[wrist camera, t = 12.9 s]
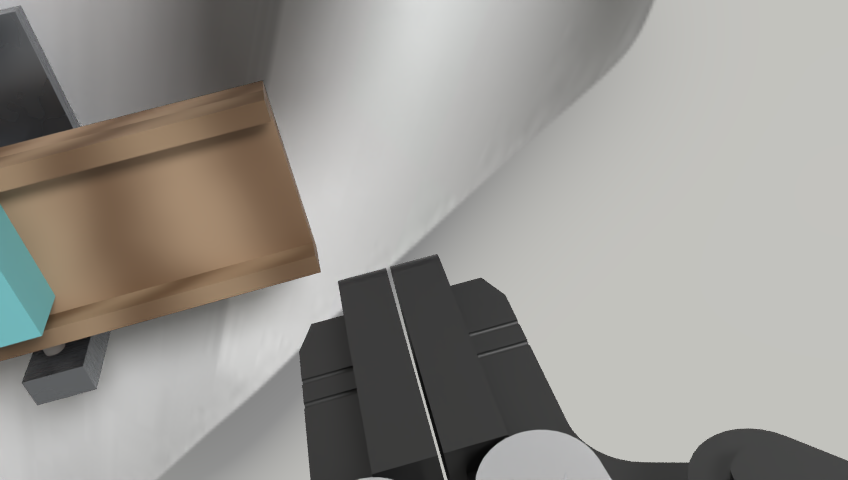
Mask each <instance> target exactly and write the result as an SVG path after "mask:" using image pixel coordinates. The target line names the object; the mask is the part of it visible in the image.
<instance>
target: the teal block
mask: <svg viewBox="0 0 848 480" xmlns="http://www.w3.org/2000/svg"><path fill="white" fill-rule="evenodd" d="M54 299H55V294H54V293H53V291H52V289H51V288H50V286H49V284H48V283H47V281H46V279H45V278H44V276H43V274H42V273H41V271H40V269H39V268H38V266H37V264H36V263H35V261H34V259H33V258H32V256H31V254H30V253H29V251H28V249H27V248H26V246H25V244H24V243H23V241H22V239H21V238H20V236H19V234H18V233H17V231H16V229H15V228H14V226H13V224H12V223H11V221H10V219H9V218H8V216H7V214H6V213H5V211H4V209H3V208H2V206H1V204H0V347H4V346H8V345H11V344H15V343H18V342H22V341H26V340H29V339H33V338H36V337H40V336H42V335H43V332H44V329H45V326H46V323H47V320H48V317H49V314H50V311H51V308H52V305H53V302H54Z"/></svg>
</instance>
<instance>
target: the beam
mask: <svg viewBox="0 0 848 480" xmlns="http://www.w3.org/2000/svg"><path fill="white" fill-rule="evenodd" d="M0 204H1V206H2V208H3V209H4V211H5V213H6V214H7V216H8V218H9V219H10V221H11V223H12V224H13V226H14V228H15V229H16V231H17V233H18V234H19V236H20V238H21V239H22V241H23V243H24V244H25V246H26V248H27V249H28V251H29V253H30V254H31V256H32V258H33V259H34V261H35V263H36V264H37V266H38V268H39V269H40V271H41V273H42V274H43V276H44V278H45V279H46V281H47V283H48V284H49V286H50V288H51V289H52V291H53V293H54V294H55V299H54V302H53V305H52V308H51V311H50V314H49V317H48V320H47V323H46V326H45V329H44V332H43V335H42V336H40V337H36V338H33V339H29V340H26V341H22V342H18V343H15V344H11V345H8V346H4V347H0V361H3V360H7V359H10V358H14V357H17V356H21V355H25V354H28V353H32V352H35V351H39V350H43V351H44V353H45V354H46V355H47V356H52V355H55V354H58V353H59V352H61V351H62V350H63V349H64V347H65V343H68V342H71V341H75V340H79V339H82V338H86V337H89V336H93V335H97V334H100V333H104V332H107V331H111V330H115V329H118V328H122V327H125V326H129V325H133V324H136V323H140V322H143V321H147V320H150V319H154V318H158V317H161V316H165V315H168V314H172V313H176V312H179V311H183V310H186V309H190V308H194V307H197V306H201V305H204V304H208V303H212V302H215V301H219V300H222V299H226V298H230V297H233V296H237V295H240V294H244V293H248V292H251V291H255V290H258V289H262V288H266V287H269V286H273V285H276V284H280V283H284V282H287V281H291V280H294V279H298V278H302V277H305V276H309V275H312V274H316V273H319V272H321V271H320V265H319V259H318V254H317V248H316V244H315V241H314V238H313V235H312V232H311V229H310V225H309V222H308V219H307V216H306V213H305V210H304V207H303V204H302V201H301V198H300V195H299V192H298V188H297V185H296V182H295V179H294V176H293V173H292V170H291V167H290V164H289V161H288V158H287V154H286V151H285V148H284V145H283V142H282V139H281V136H280V133H279V130H278V127H277V124H276V121H275V117H274V114H273V111H272V108H271V105H270V102H269V99H268V96H267V93H266V90H265V87H264V83H263V80H262V81H258V82H254V83H250V84H246V85H243V86H239V87H235V88H231V89H227V90H223V91H219V92H215V93H211V94H207V95H203V96H200V97H196V98H192V99H188V100H184V101H180V102H176V103H172V104H168V105H164V106H160V107H156V108H153V109H149V110H145V111H141V112H137V113H133V114H129V115H125V116H121V117H117V118H113V119H110V120H106V121H102V122H98V123H94V124H90V125H86V126H82V127H78V128H74V129H70V130H66V131H63V132H59V133H55V134H51V135H47V136H43V137H39V138H35V139H31V140H27V141H23V142H19V143H16V144H12V145H8V146H4V147H0Z"/></svg>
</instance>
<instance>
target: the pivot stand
mask: <svg viewBox="0 0 848 480" xmlns="http://www.w3.org/2000/svg"><path fill="white" fill-rule="evenodd" d="M78 127H80V126H79V124H78V121H77V119H76V117H75V115H74V113H73V111H72V109H71V107H70V105H69V103H68V101H67V99H66V97H65V95H64V93H63V91H62V89H61V87H60V85H59V83H58V81H57V79H56V77H55V75H54V73H53V71H52V69H51V66H50V64H49V62H48V60H47V58H46V56H45V54H44V52H43V50H42V48H41V46H40V44H39V42H38V40H37V38H36V36H35V34H34V32H33V30H32V28H31V26H30V24H29V22H28V20H27V18H26V16H25V14H24V11H23V9H22V7H21V6H17V7H12V8H8V9H4V10H0V147H4V146H8V145H12V144H16V143H19V142H23V141H27V140H31V139H35V138H39V137H43V136H47V135H51V134H55V133H59V132H63V131H66V130H70V129H74V128H78ZM109 336H110V331H107V332H104V333H100V334H97V335H93V336H89V337H86V338H82V339H79V340H75V341H71V342H68V343H65V347H64V349H63V350H62V351H61V352H59V353H58V354H55V355H52V356H47V355H46V354H45V353H44V351H43V350H39V351H35V352H33V354H32V357H31V359H30V362H29V365H28V367H27V370H26V373H25V376H24V378H23V381H22V384H23V385H24V387H25V388H26V390H27V391H28V392H29V394H30V395H31V397H32V398H33V400H34V401H35V403H36V404H37V405H40V404H43V403H47V402H51V401H54V400H58V399H62V398H65V397H69V396H73V395H76V394H80V393H84V392H87V391H91V390H95V389H97V385H98V381H99V377H100V373H101V369H102V364H103V360H104V356H105V352H106V348H107V344H108V340H109Z"/></svg>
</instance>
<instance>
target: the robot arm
mask: <svg viewBox="0 0 848 480" xmlns="http://www.w3.org/2000/svg"><path fill="white" fill-rule="evenodd" d="M390 269H391V273H392V277H393V281H394V284H395V289H396V293H397V296H398V300H399V304H400V308H401V312H402V315H403V319H404V323H405V327H406V331H407V335H408V339H409V342H410V346H411V350H412V354H413V358H414V361H415V365H416V369H417V372H418V376H419V380H420V383H421V387H422V390H423V394H424V398H425V400H426V405H427V408H428V412H429V415H430V419H431V422H432V426H433V430H434V433H435V437H436V440H437V444H438V447H439V451H440V454H441V458H442V462H443V465H444V469H445V472H446V476H447V479H448V480H848V461H847V460H844V459H842V458H839V457H837V456H834V455H832V454H829V453H827V452H824V451H822V450H819V449H817V448H814V447H811V446H809V445H807V444H804V443H802V442H799V441H796V440H794V439H792V438H789V437H787V436H784V435H780V434H778V433H775V432H771V431H766V430H760V429H735V430H730V431H725V432H722V433H720V434H717V435H714V436H713V437H711V438H709V439H707V440H706V441H705V442H703V443H702V444H701V445H700V446H699V447H698V448H697V449H696V451H695V452H694V453H693V456H692V458H691V460H690V462H689V463H651V462H649V463H648V462H631V461H625V460H620V459H616V458H613V457H610V456H607V455H605V454H602V453H600V452H598V451H596V450H595V449H593V448H592V447H590V446H588V445H587V444H585V443H584V442H583V441H582V440H581V439H580V438H579V437H578V436H577V435H576V434H575V433H574V432H573V431H572V429H571V427H570V426H569V424H568V422H567V421H566V418H565V417H564V414H563V412H562V410H561V408H560V406H559V404H558V402H557V400H556V398H555V396H554V394H553V392H552V390H551V388H550V386H549V384H548V382H547V380H546V378H545V376H544V373H543V371H542V369H541V368H540V365H539V363H538V361H537V359H536V357H535V355H534V353H533V351H532V349H531V347H530V345H528V342H527V339H526V337H525V335H524V333H523V331H522V328H521V326H520V325H519V324H518V321H517V318H516V316H515V314H514V312H513V310H512V308H511V306H510V304H509V302H508V300H507V298H506V296H505V295H504V294H503V293H502V292H500V291H499V290H497V289H496V288H495V287H493V286H492V285H491V284H489V283H488V282H486V281H485V280H484V279H482V278H478V279H474V280H471V281H467V282H464V283H460V284H456V285H452V286H450V284H449V282H448V279H447V277H446V274H445V271H444V269H443V267H442V264H441V262H440V259H439V257H438V255H437V254H436V255H432V256H428V257H425V258H421V259H417V260H413V261H410V262H406V263H403V264H399V265H395V266H391V267H390ZM338 284H339V290H340V296H341V302H342V307H343V313H344V315H343V316H340V317H336V318H332V319H328V320H325V321H321V322H317V323H314V324H311V326H310V329H309V331H308V333H307V335H306V338H305V340H304V342H303V345H302V347H301V349H300V351H299V354H300V364H301V365H300V366H301V376H302V382H303V385H302V388H303V399H304V405H305V410H304V411H305V422H306V431H307V432H306V433H307V444H308V456H309V465H310V466H309V467H310V477H311V480H444V478H443V474H442V470H441V467H440V463H439V459H438V455H437V451H436V448H435V444H434V441H433V437H432V433H431V430H430V426H429V422H428V419H427V416H426V412H425V408H424V404H423V401H422V397H421V394H420V390H419V387H418V383H417V379H416V375H415V372H414V368H413V365H412V361H411V358H410V354H409V350H408V347H407V343H406V340H405V336H404V333H403V329H402V325H401V321H400V318H399V314H398V311H397V307H396V303H395V300H394V296H393V292H392V289H391V285H390V282H389V278H388V275H387V271H386V268H384V269H381V270H377V271H373V272H370V273H366V274H362V275H359V276H355V277H351V278H347V279H344V280H340V281H338Z"/></svg>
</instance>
